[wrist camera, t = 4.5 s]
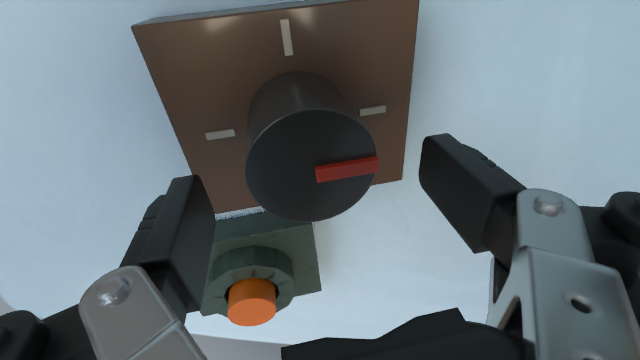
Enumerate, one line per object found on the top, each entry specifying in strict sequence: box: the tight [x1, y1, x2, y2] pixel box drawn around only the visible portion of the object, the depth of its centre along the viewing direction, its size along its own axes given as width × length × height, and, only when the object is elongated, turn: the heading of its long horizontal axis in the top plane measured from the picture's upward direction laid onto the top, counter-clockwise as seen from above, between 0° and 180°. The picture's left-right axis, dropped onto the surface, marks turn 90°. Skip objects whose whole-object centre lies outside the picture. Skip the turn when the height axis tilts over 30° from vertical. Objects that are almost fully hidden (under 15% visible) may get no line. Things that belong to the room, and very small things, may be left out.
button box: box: [199, 212, 321, 317], centre depth 22 cm, size 10×8×4 cm
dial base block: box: [131, 0, 419, 214], centre depth 16 cm, size 12×10×3 cm
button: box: [227, 277, 276, 326], centre depth 20 cm, size 3×3×2 cm
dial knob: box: [245, 71, 379, 222], centre depth 13 cm, size 5×5×5 cm
